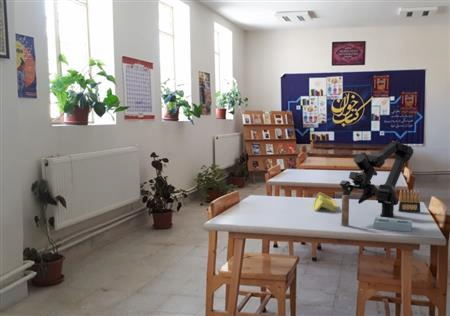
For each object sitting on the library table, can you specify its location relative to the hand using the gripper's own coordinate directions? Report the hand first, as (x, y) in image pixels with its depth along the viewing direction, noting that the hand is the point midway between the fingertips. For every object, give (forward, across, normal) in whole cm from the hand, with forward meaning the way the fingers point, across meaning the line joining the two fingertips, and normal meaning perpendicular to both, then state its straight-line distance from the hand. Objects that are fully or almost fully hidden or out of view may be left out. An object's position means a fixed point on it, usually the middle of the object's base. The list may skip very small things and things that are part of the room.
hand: (350, 201), depth 230 cm
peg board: (+1, +17, +14) cm, 22 cm away
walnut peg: (+10, 0, +5) cm, 11 cm away
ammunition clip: (-26, +1, +41) cm, 49 cm away
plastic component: (-7, -32, +22) cm, 40 cm away
